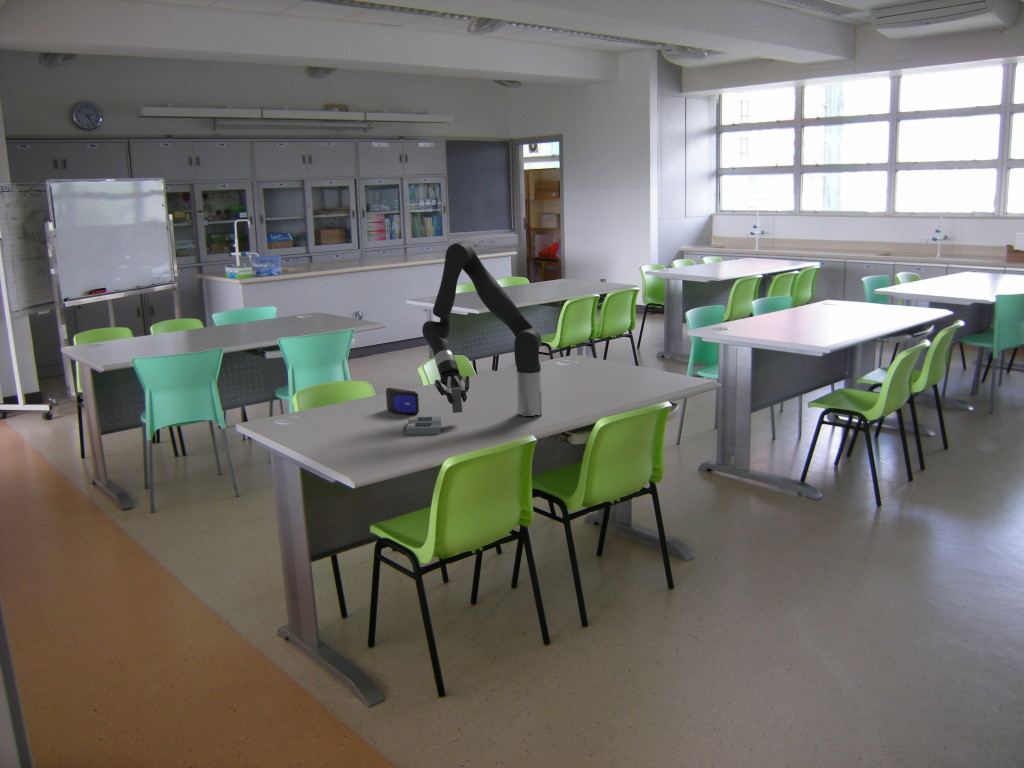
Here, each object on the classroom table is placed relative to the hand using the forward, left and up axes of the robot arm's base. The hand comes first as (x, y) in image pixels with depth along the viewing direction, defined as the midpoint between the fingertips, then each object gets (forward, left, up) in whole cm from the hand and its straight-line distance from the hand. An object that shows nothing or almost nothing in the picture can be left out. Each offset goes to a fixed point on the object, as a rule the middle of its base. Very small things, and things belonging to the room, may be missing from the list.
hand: (458, 401), depth 312 cm
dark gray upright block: (+1, -2, -4) cm, 5 cm away
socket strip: (+13, +3, -9) cm, 16 cm away
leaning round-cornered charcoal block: (+23, -22, -9) cm, 33 cm away
